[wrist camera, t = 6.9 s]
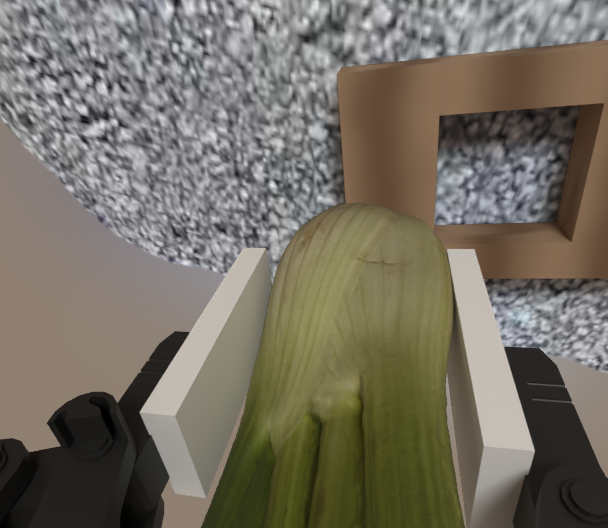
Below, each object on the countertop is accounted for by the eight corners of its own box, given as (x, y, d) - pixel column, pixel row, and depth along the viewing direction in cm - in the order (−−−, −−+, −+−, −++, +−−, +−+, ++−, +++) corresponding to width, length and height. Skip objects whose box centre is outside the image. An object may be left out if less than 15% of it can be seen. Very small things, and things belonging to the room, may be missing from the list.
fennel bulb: (294, 305, 17) (152, 716, 7) (269, 194, 15) (5, 581, 5) (443, 301, 16) (515, 808, 6) (440, 176, 14) (556, 675, 4)
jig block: (713, 29, 23) (753, 32, 20) (638, 255, 30) (661, 278, 27) (341, 67, 27) (337, 74, 24) (353, 258, 34) (350, 279, 31)
